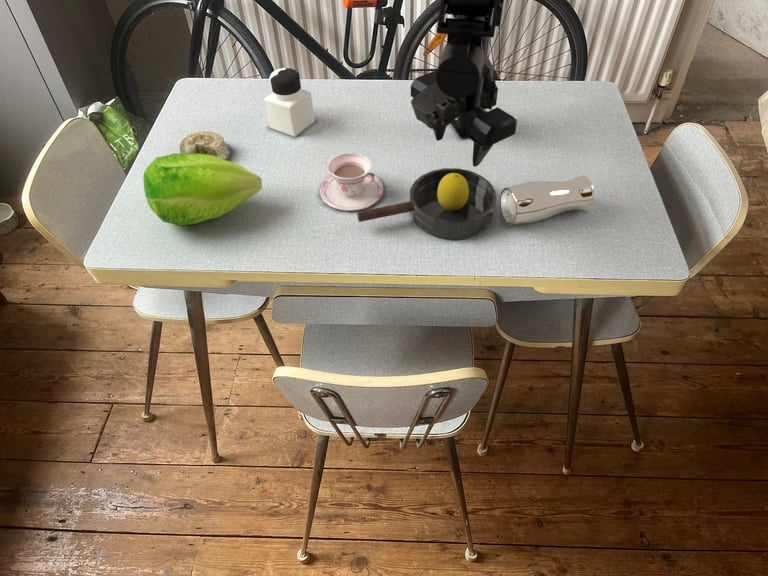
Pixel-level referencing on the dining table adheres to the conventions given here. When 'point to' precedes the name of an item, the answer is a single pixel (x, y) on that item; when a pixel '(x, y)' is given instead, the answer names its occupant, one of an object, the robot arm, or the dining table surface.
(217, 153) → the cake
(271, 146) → the dining table surface
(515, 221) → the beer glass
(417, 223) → the pan
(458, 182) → the lemon
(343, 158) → the teacup
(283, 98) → the medicine bottle
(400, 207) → the pan handle
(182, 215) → the lettuce
